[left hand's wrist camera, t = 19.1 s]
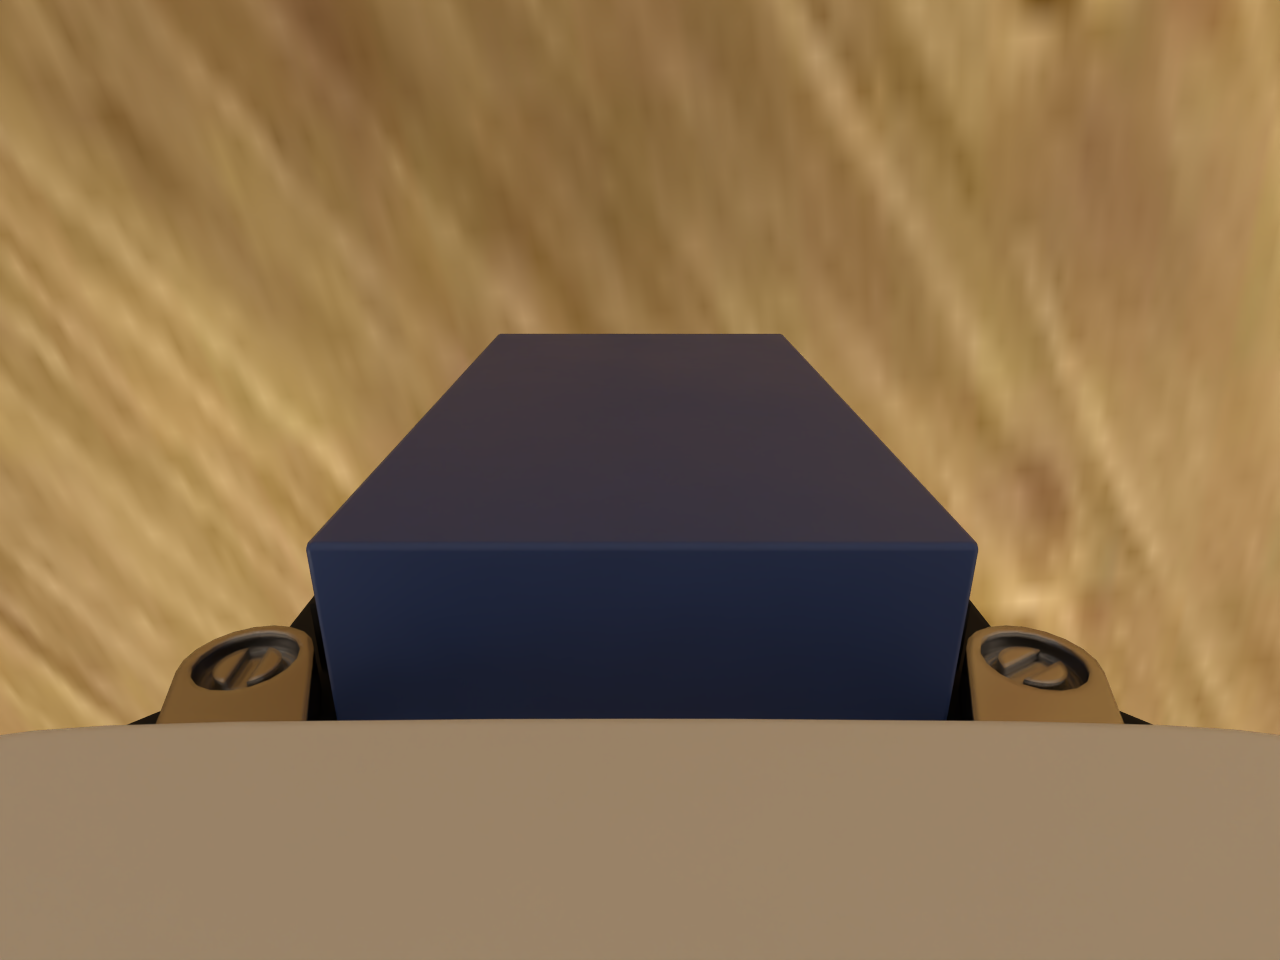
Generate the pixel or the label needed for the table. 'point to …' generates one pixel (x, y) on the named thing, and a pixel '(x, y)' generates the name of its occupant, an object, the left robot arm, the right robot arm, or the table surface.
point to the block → (641, 547)
